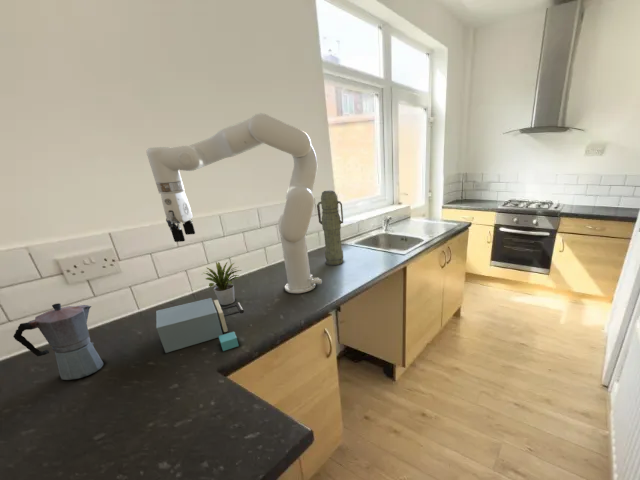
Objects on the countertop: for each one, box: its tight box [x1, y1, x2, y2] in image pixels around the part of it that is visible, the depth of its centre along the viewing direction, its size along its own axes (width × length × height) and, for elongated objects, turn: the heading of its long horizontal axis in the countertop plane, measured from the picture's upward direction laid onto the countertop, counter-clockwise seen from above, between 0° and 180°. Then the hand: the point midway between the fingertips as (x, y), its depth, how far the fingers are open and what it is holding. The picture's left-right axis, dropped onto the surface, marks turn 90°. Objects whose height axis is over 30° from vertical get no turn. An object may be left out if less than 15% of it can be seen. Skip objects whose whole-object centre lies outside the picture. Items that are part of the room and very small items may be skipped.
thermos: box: [316, 190, 344, 266], centre depth 155 cm, size 9×12×35 cm
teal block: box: [218, 331, 240, 352], centre depth 96 cm, size 4×4×3 cm
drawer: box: [213, 299, 245, 333], centre depth 103 cm, size 21×11×7 cm, turn 123°
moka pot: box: [13, 302, 104, 381], centre depth 82 cm, size 10×15×20 cm, turn 161°
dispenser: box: [155, 297, 224, 354], centre depth 100 cm, size 16×13×9 cm
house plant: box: [201, 261, 242, 306], centre depth 119 cm, size 14×14×16 cm
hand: (185, 237), depth 113 cm, fingers open, 9 cm apart
